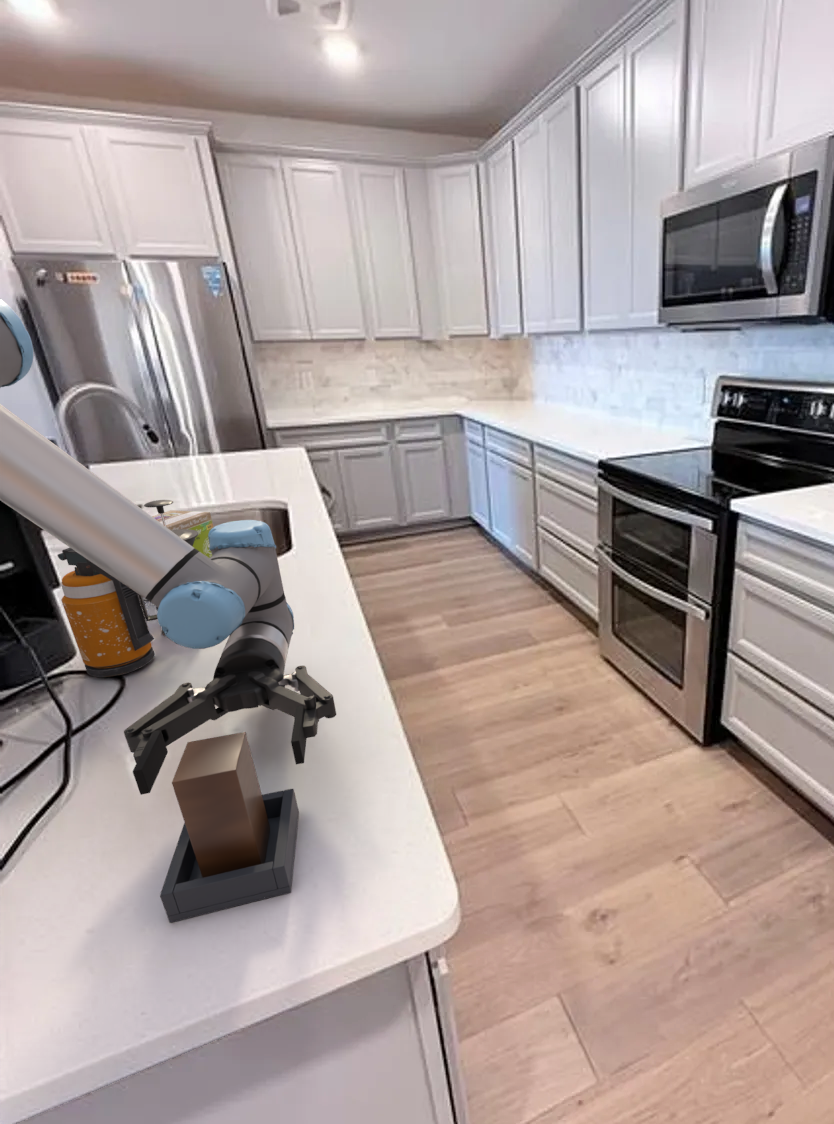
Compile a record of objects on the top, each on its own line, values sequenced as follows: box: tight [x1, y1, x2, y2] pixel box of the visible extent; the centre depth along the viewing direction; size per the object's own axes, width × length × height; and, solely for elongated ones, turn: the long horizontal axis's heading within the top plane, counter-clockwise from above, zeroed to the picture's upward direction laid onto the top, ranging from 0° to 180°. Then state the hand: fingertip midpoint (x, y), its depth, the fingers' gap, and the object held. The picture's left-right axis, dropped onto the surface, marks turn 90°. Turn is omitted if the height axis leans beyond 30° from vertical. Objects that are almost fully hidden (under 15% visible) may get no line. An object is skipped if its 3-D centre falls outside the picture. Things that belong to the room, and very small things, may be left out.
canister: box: [57, 547, 155, 678], centre depth 93 cm, size 9×11×20 cm
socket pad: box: [159, 788, 300, 923], centre depth 60 cm, size 10×11×3 cm
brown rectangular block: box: [171, 731, 270, 878], centre depth 58 cm, size 5×6×12 cm
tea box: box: [138, 509, 214, 601], centre depth 125 cm, size 15×10×15 cm, turn 170°
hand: (221, 767), depth 59 cm, fingers open, 13 cm apart
